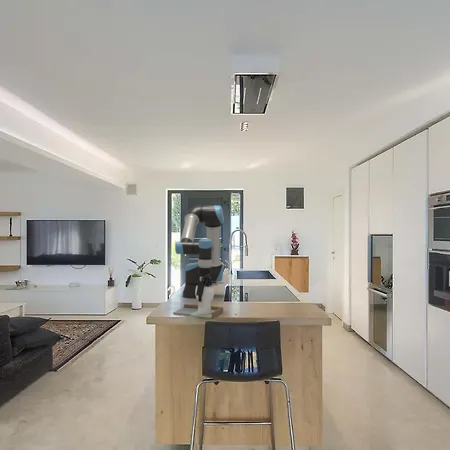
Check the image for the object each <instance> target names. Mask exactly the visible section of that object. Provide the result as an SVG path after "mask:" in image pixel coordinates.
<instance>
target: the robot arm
mask: <svg viewBox="0 0 450 450" xmlns="http://www.w3.org/2000/svg"><path fill="white" fill-rule="evenodd" d="M223 209H224V208H223V207H222V206H221V205H216V204H214V205H213V204H211V205H210V204H209V205H208V204H207V205H204V204H201V205H195V206H193V207H191V208H190V209H189V210H188V211H187V212H186V213H185V216H184V220H183V221H184V225H183V230H182V233H181V237H180V240H179V241H176V242H175V245H174V246H175V247H174V252H175V253H176V255H190V256H191V255H193V256H194V255H195V256H198V260H197V262H190V263H187V264H186V265H185V270H184V272H185V274H184V275H185V276H184V277H185V278H184V279H185V280H184V282H185V283H184V288H183V291H182V297H183V298H188V299H197V298H196V295H197V296H198V301H197V305H198V307H199V308H203V296H202V295H203V291H204V287H205V286H207V287H208V286H210V285H212V286H213V282H214V283H216V282H222V280H223V277H224V271H225V270H224V269H225V265H224V264H223V262H222V260H221V255H220V254H221V253H220V252H221V251H220V250H221V249H220V248H221V247H220V245H221V244H220V235H221V234H220V229H221V227H222V226H223V224H224V223H225V219H224V211H223ZM199 223H201V224H204V225H203V226H204V227H205V228H206V238H204V239H203V238H202V239H199V240H198V241H194V240H195V234H196V231H197V225H198V224H199ZM197 285H198V287H197V293H196V295H195V290H196V286H197Z"/></svg>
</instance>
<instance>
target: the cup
mask: <svg viewBox="0 0 450 450" xmlns="http://www.w3.org/2000/svg"><path fill="white" fill-rule="evenodd" d="M197 287H198V285H197V286H196V290H195V295H196V293H197ZM202 296H203V308H199V307H198V313H199V314H210V313H211V305H212V302H213V300H214V296H215V289H214V286H213V284H212V285H210V286H208V287H207V286H205V287H204V291H203V295H202ZM195 299H196V301H197V302H198V296H197V295H196V298H195Z"/></svg>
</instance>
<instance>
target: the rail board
mask: <svg viewBox="0 0 450 450" xmlns="http://www.w3.org/2000/svg"><path fill="white" fill-rule="evenodd" d="M222 312H223V313H224V307H223V306H214V305H213V306H211V313H210V314H199V313H198V304H187V303H184V304H183V307H182V308H180V309H178V310H176V311H173V313H172V315H173V314H174V316H181V315H184V316H183V317H194V318H195V317H196V318H207V319H215V318H217V317H218V316H220V315H221V314H223V313H222ZM219 314H220V315H219Z"/></svg>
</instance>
